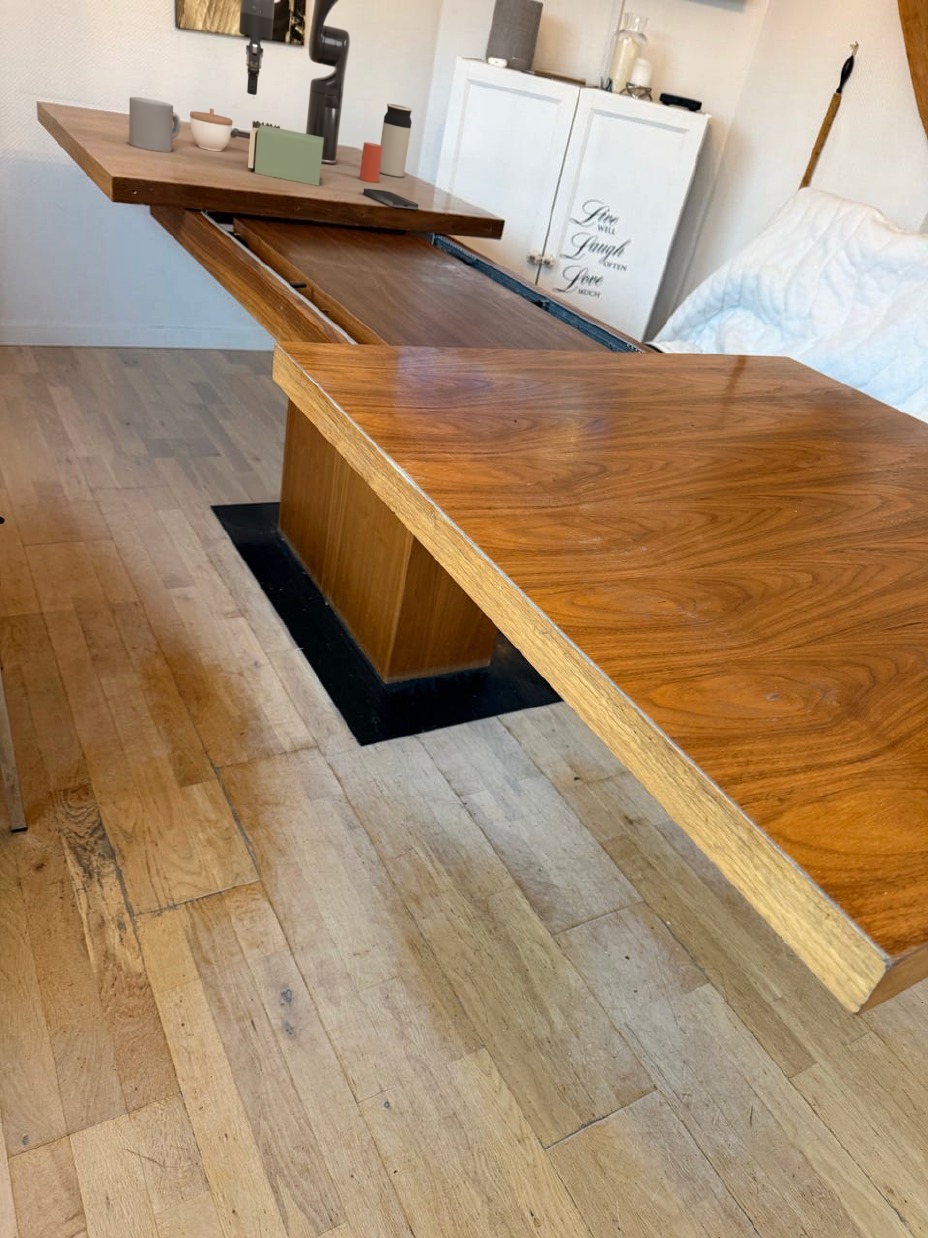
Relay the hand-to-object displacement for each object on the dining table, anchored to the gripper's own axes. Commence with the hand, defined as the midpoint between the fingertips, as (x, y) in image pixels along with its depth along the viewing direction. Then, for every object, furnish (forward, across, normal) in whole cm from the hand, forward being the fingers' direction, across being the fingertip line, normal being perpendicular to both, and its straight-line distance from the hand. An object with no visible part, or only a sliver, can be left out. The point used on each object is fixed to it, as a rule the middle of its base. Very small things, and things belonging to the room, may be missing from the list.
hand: (251, 92), depth 219 cm
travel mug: (+16, +41, -41) cm, 60 cm away
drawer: (+16, 0, -5) cm, 16 cm away
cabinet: (+16, 0, -10) cm, 19 cm away
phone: (+17, -11, -35) cm, 40 cm away
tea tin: (+16, +20, -33) cm, 42 cm away
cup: (+16, +28, -4) cm, 33 cm away
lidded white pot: (+16, +23, +10) cm, 30 cm away
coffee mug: (+17, +6, +22) cm, 28 cm away
